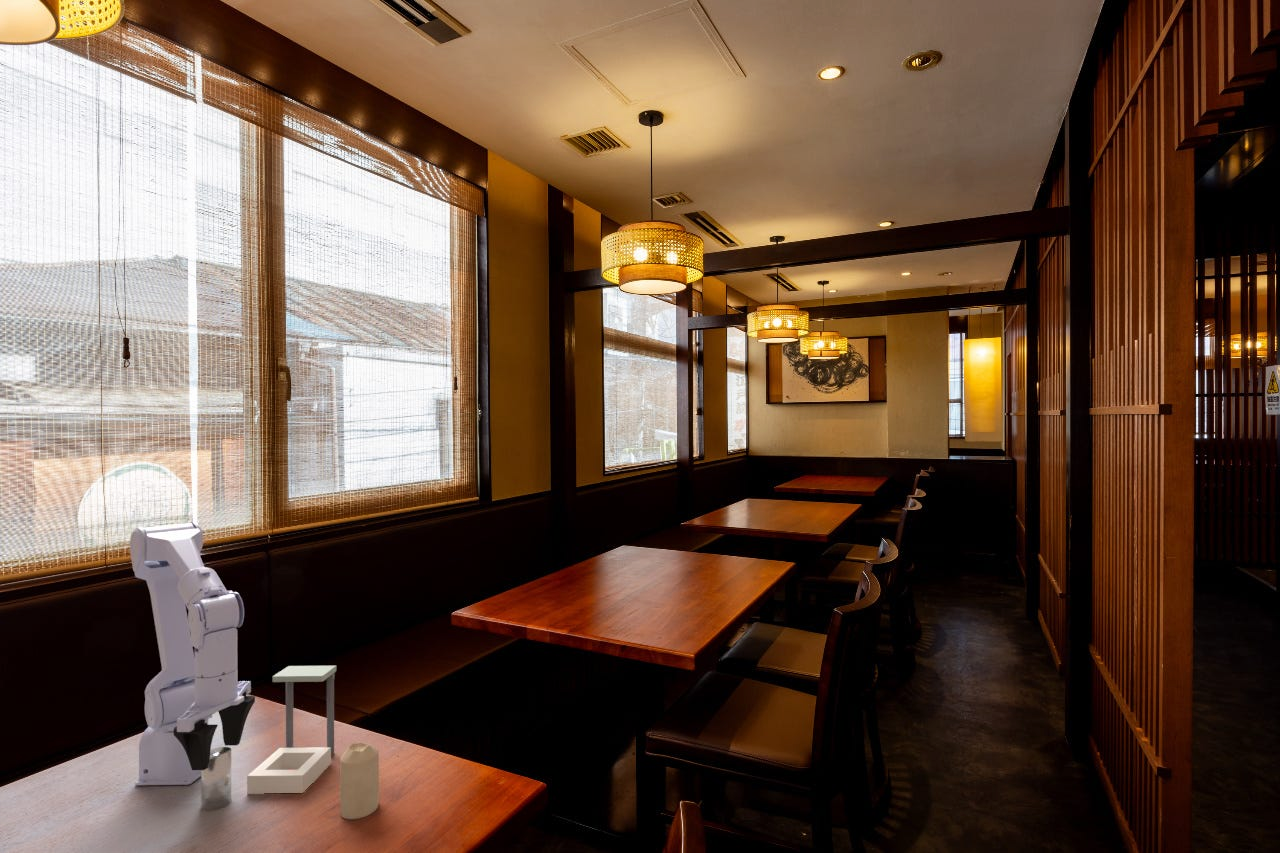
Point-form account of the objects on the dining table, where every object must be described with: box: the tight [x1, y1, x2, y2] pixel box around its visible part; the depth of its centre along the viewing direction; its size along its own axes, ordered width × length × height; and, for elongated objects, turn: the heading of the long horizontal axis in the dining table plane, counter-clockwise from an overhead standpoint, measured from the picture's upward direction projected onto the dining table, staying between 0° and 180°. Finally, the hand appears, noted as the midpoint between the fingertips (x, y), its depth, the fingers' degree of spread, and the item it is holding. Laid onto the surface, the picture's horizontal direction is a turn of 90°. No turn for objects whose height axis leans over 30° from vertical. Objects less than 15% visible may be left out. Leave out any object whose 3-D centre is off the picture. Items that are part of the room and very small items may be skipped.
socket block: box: [246, 746, 332, 795], centre depth 107 cm, size 9×9×3 cm
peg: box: [200, 746, 232, 812], centre depth 100 cm, size 4×4×8 cm
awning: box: [272, 665, 337, 756], centre depth 113 cm, size 9×5×16 cm, turn 90°
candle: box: [339, 742, 380, 820], centre depth 98 cm, size 6×6×10 cm
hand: (216, 756), depth 100 cm, fingers open, 7 cm apart
